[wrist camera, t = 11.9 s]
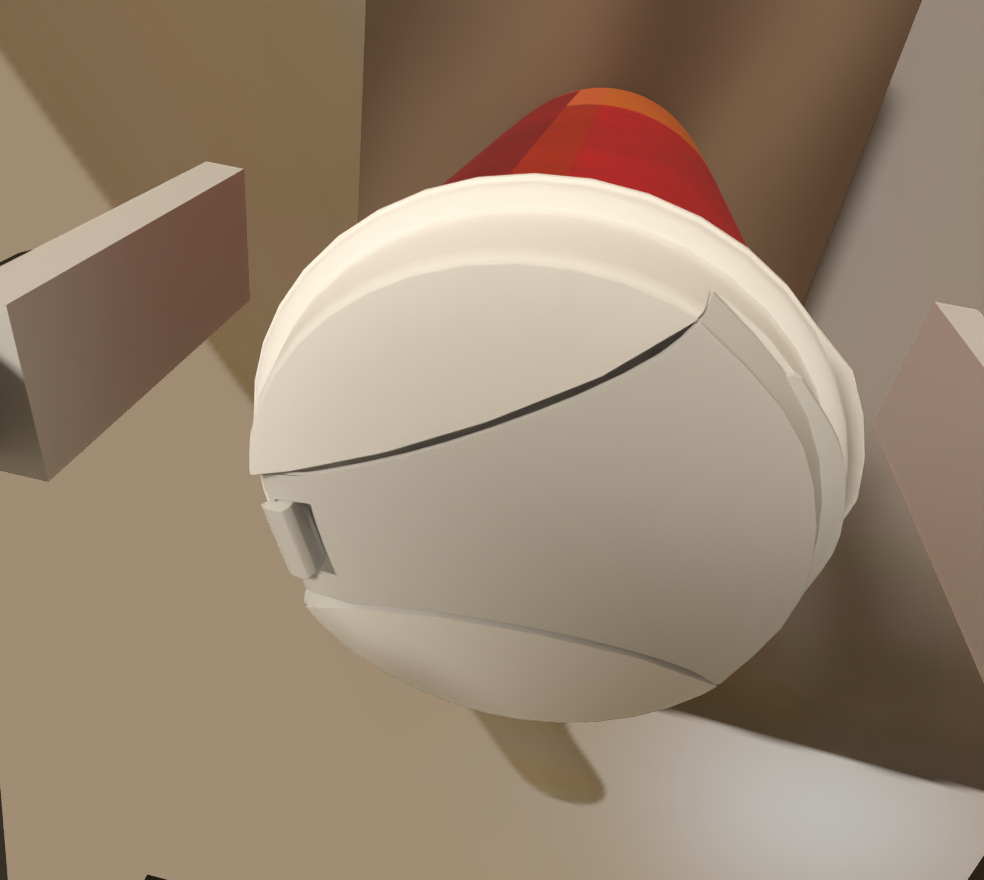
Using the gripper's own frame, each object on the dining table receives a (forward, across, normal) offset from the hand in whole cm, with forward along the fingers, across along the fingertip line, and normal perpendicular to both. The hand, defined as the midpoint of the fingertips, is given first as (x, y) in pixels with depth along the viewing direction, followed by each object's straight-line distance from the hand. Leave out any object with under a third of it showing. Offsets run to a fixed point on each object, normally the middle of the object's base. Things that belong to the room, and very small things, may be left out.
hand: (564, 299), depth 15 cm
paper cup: (+7, 0, 0) cm, 7 cm away
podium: (+11, 0, 0) cm, 11 cm away
